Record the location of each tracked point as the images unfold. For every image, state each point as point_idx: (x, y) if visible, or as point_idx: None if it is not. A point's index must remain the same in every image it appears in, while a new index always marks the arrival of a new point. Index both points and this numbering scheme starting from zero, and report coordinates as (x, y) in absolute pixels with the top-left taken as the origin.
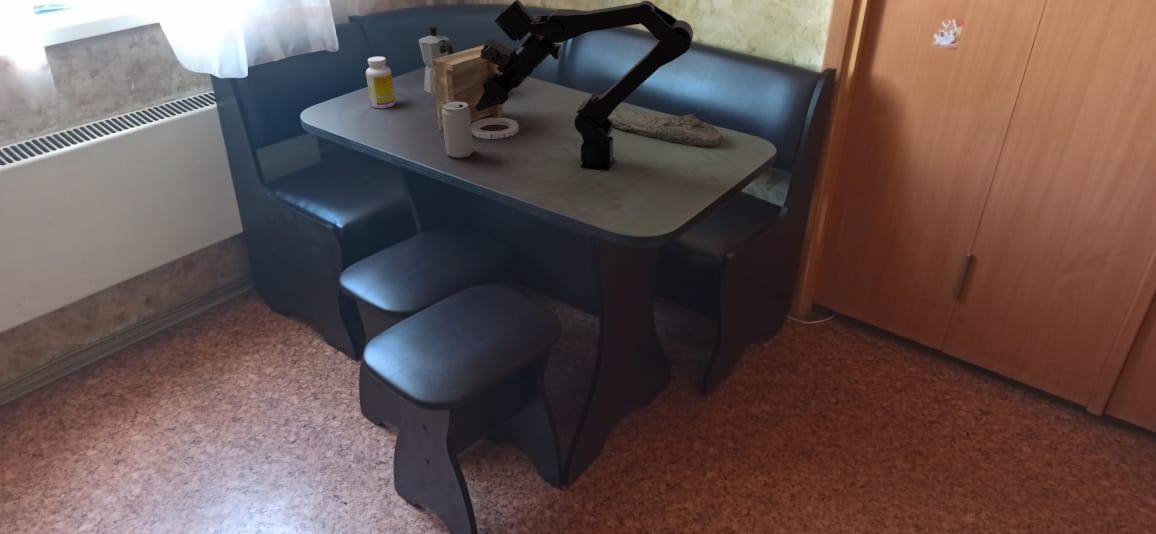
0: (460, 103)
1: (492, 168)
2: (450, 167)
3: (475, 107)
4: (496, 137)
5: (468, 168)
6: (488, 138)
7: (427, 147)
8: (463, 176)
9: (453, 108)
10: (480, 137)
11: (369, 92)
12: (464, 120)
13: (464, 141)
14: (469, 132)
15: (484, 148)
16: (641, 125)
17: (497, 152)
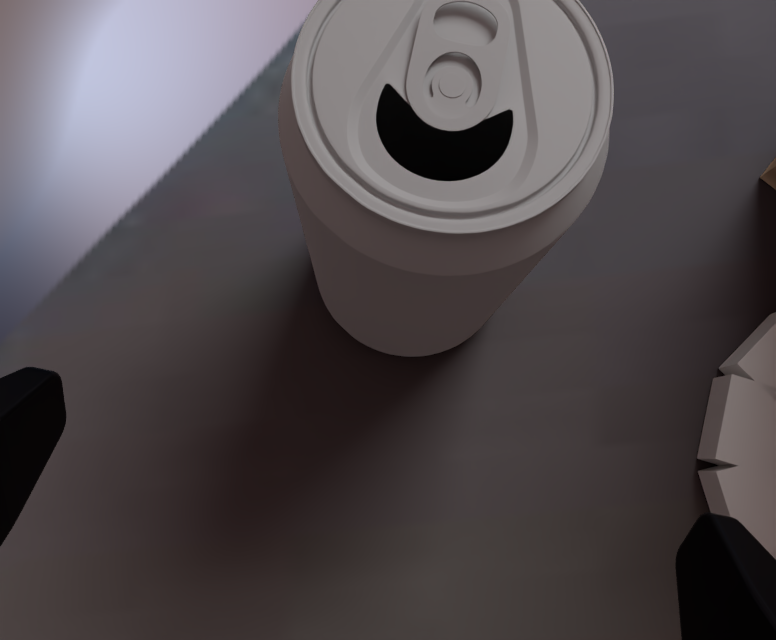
0: (540, 132)
1: (139, 522)
2: (183, 234)
3: (16, 372)
4: (712, 502)
5: (155, 353)
6: (702, 440)
7: None
8: (22, 334)
9: (338, 67)
10: (715, 379)
11: None
12: (325, 243)
13: (323, 286)
14: (371, 314)
15: (514, 428)
16: None
17: (438, 533)
